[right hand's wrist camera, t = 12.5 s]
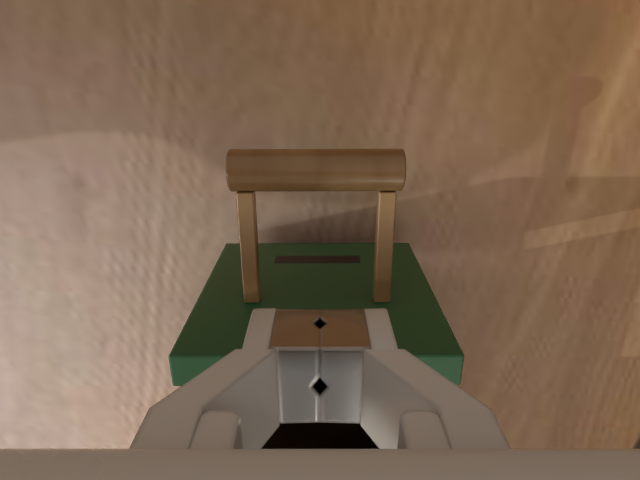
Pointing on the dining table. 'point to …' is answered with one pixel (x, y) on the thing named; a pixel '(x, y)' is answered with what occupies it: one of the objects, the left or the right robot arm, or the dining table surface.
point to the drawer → (315, 276)
